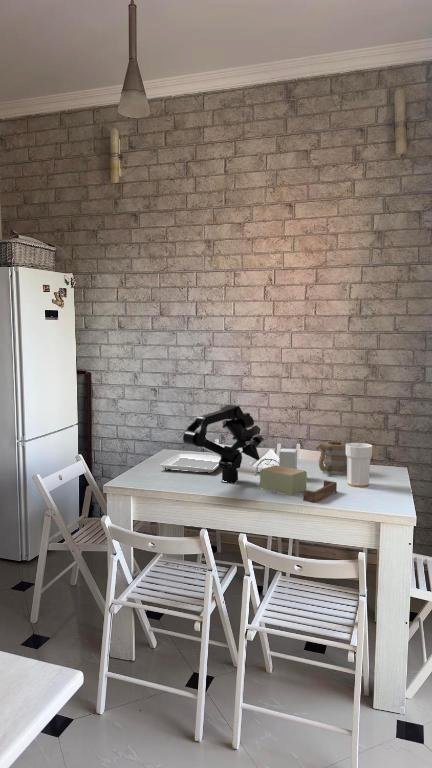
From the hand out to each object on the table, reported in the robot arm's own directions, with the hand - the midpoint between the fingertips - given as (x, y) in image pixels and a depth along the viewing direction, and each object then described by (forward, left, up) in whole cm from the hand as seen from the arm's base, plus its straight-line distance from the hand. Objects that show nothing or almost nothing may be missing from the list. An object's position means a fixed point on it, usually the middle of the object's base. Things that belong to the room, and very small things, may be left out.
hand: (258, 459), depth 242 cm
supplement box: (+13, +15, -11) cm, 22 cm away
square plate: (-32, +30, -12) cm, 45 cm away
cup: (+43, +6, -11) cm, 45 cm away
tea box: (+10, -6, -11) cm, 17 cm away
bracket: (+25, -14, -11) cm, 31 cm away
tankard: (+33, +25, -11) cm, 43 cm away
